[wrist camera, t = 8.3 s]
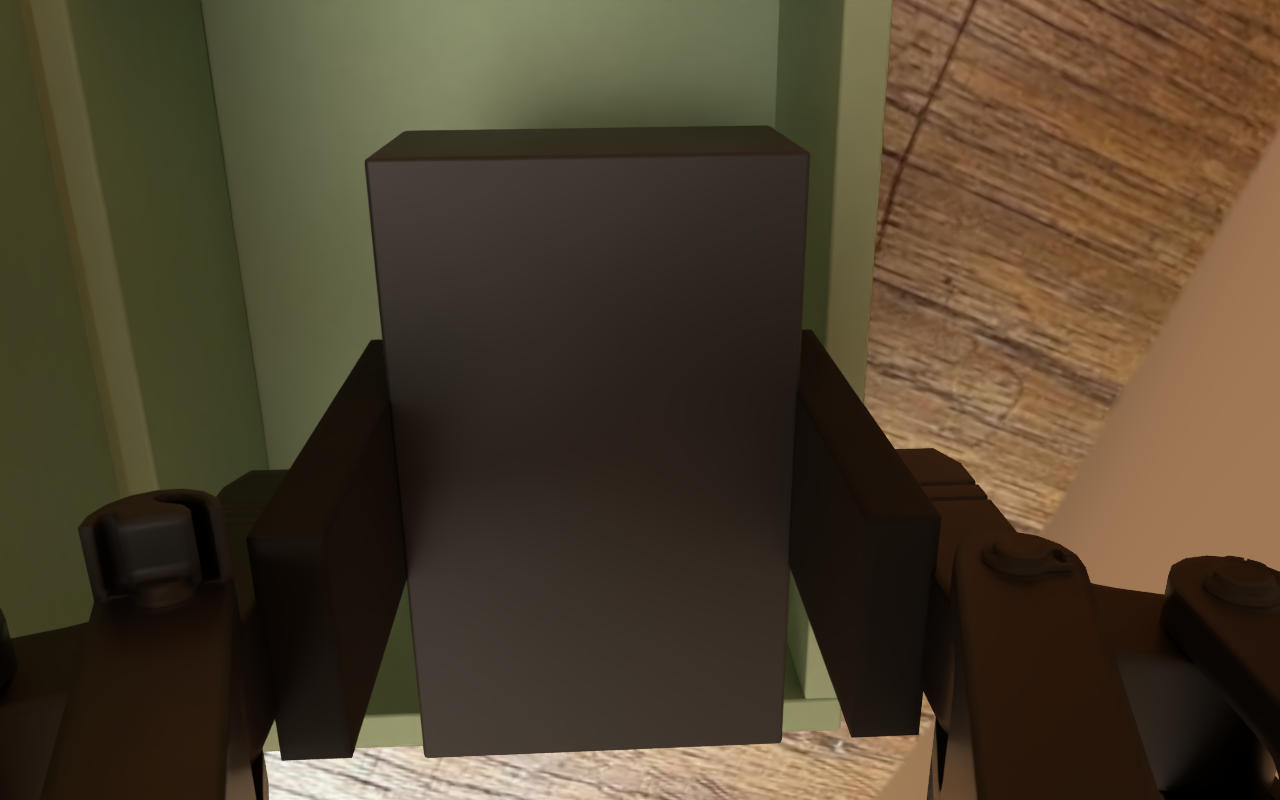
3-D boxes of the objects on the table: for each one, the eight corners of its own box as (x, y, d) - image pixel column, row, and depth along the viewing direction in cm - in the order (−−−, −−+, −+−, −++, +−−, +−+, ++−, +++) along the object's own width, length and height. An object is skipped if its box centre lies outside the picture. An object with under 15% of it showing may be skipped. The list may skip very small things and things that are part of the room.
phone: (770, 125, 16) (812, 151, 13) (752, 634, 19) (782, 744, 16) (401, 130, 15) (363, 158, 13) (447, 646, 19) (423, 760, 16)
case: (812, -78, 22) (902, -109, 16) (783, 565, 28) (840, 731, 21) (164, -73, 22) (-11, -105, 15) (265, 581, 27) (168, 757, 21)
